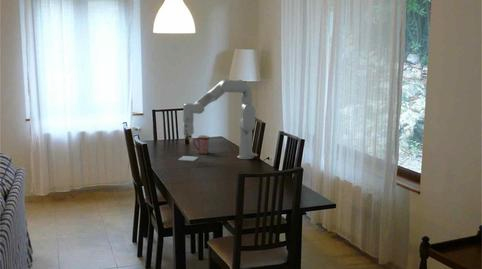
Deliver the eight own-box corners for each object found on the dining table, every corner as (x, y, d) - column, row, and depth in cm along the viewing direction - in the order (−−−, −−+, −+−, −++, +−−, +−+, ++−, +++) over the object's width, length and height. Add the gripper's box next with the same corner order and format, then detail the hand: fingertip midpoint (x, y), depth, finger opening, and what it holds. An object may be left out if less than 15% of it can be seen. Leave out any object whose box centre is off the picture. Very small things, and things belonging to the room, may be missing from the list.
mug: (209, 151, 418) (209, 135, 415) (209, 154, 409) (209, 137, 406) (193, 151, 416) (193, 135, 414) (193, 154, 407) (193, 137, 405)
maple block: (192, 143, 391) (192, 137, 390) (190, 145, 386) (190, 138, 385) (186, 143, 392) (186, 136, 391) (183, 144, 387) (183, 138, 386)
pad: (198, 157, 396) (198, 156, 395) (193, 161, 384) (193, 160, 384) (183, 156, 398) (183, 155, 398) (178, 160, 387) (178, 159, 387)
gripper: (189, 121, 377) (189, 146, 380) (196, 118, 393) (196, 142, 396) (179, 121, 378) (179, 145, 382) (187, 117, 395) (187, 141, 398)
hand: (188, 143), depth 389 cm, fingers closed on maple block, 5 cm apart
